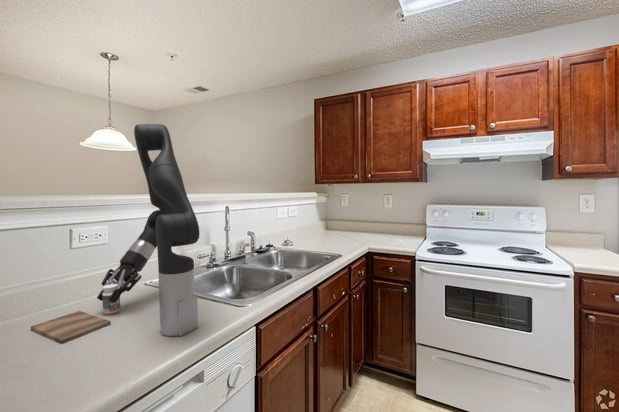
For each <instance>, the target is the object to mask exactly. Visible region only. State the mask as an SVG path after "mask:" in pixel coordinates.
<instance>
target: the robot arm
mask: <svg viewBox="0 0 619 412" xmlns="http://www.w3.org/2000/svg"><path fill="white" fill-rule="evenodd" d="M133 130H134V131H133V134H134V140H135V141H134V142H135V145H136V149H137V153H138V155H139V160H140V163H141V164H140V165H141V166H142V170H143V173H144V176H145V179H146V183H147V187H148V194H149V200H150V204H151V205H152V206H153V207H155V208H158V209H156V210H153V211H152V212H151V213H150V214H149V216H148V217H147V220H146V221H145V222H146V223H145V226H144V228H143V230H142V232H141V234H139V236H138V237H137V238H136V240H135V241H134V242H133V243H132V244H131V245H130V247H129V248H128V249H127V251H126V252H125V254H124V255H123V256H122V257H121V259H120V260H119V263H120V264H119V266H118V267H116V269H112V268H110V269H109V270H107V273H106V274H105V276H104V278H103V279H102V282H101V285H102V286H103V287H104V286H106V285H109V284H118V286H117V290H116V289H115V291H114V292H113V294H112V295H111V296H110V298H109V299H108V301H110V302H112V303H115V302H116V301H117V300H118V298H119V297H120V298H121V295H122V294H123V293H125V292H130V291H131V289H133V287H134V286H136V284H137V283H138V282H139V281H140V280H141V279H142V278H143V277H142V275H141V274H139V272H142V270H143V269H144V267H145V266H146V264H147V263H148V261H149V260H150V259H151V257H152V256H153V253H154V252H155V250H157V251H156V252H157V263H158V266H157V267H158V269H157V270H158V299H159V321H160V323H159V324H160V333H161V335H163V336H168V337H174V336H175V337H176V336H177V337H182V336H184V335H186V334H187V333H189V332H191V331H193V330H195V329H196V328H198V327H199V319H198V315H199V314H198V313H199V312H198V308H199V307H198V295H196V293H195V262H194V259H193V257H190V256H188V255H187V256H186V255H181V254H177V253H175V252H173V251H172V248H173V247H182V246H189V245H194V244H196V243H197V242H198V241H199V239H200V233H201V232H200V225H199V222H198V219H197V217H196V214H195V211H194V209H193V207H192V205H191V203H190V200H189V197H188V195H187V192H186V191H187V190H186V189H185V184H184V181H183V177H182V173H181V171H180V167H179V166H178V163H177V160H176V156H175V152H174V148H173V144H172V139H171V135H170V134H171V133H170V132H169V129H168V127H167V126H166V125H165V124H160V123H139V124H135V126H134V129H133ZM153 151H160V152H159V153H158V155H157V156H156V157H155V159H154V160H153V161H152V159H151V156H150V155H149V152H153ZM103 292H104V291H103V289H102V290H101V291H100V292H99V293H98V295H97V297H96V299H97V300H99V301H101V302H103V301H102V294H103Z"/></svg>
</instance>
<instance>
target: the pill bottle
mask: <svg viewBox="0 0 619 412" xmlns="http://www.w3.org/2000/svg"><path fill="white" fill-rule="evenodd" d="M117 286H118V284H113V283H111V284H109V285H106V286H103V287H102V290H103V291H104V292H103V294H102V301H101V302H102V312H103V314H106V315H107V314H114V313H117V312H119V311H120V310H121V296H120V297H119V298H118V300H117V301H116V302H115V303H112V302H110V301H108V299H109V298H110V296H111V295H112V294H113V292H114V291H115V289H116V290H117Z"/></svg>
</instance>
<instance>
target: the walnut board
mask: <svg viewBox="0 0 619 412" xmlns="http://www.w3.org/2000/svg"><path fill="white" fill-rule="evenodd" d="M111 323H112V322H111V320H108V319H106V318H103V317H99V316H96V315H94V314H90V313H87V312H84V311H82V310H78V311H74V312H71V313H68V314H65V315H62V316H59V317H56V318H53V319H50V320H47V321H44V322H41V323H38V324H35V325H32V326H30V330H31V331H33V332H34V333H37V334H39V335H41V336H43V337H45V338H48V339H50V340H53V341H54V342H56V343H59V344H65V343H68V342H70V341H72V340H76V339H78V338H80V337H82V336H85V335H88V334H90V333H92V332H95V331H97V330H101V329H103V328H106V327H108V326H110V325H111Z"/></svg>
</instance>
